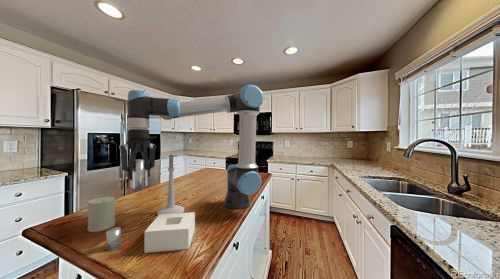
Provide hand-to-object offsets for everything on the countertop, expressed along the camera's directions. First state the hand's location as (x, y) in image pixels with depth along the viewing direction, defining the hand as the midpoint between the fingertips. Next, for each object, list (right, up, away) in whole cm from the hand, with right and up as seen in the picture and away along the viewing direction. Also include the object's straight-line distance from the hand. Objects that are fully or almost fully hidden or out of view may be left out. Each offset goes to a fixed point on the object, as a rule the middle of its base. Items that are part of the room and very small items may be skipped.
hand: (139, 186), depth 73 cm
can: (-19, -19, +4) cm, 27 cm away
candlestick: (+4, -19, +20) cm, 27 cm away
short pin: (-2, -18, -11) cm, 21 cm away
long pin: (0, -1, 0) cm, 1 cm away
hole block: (+16, -18, -6) cm, 25 cm away
